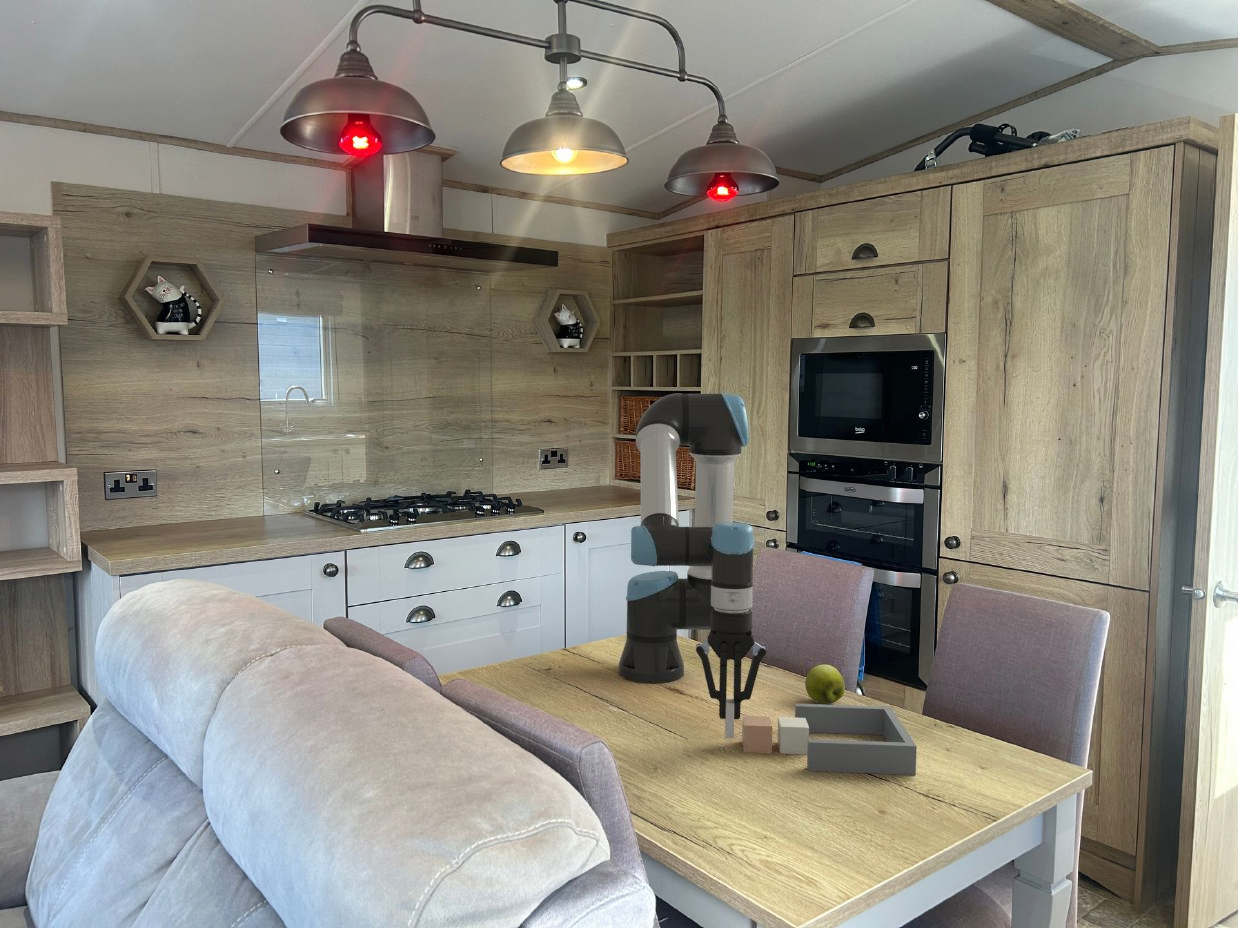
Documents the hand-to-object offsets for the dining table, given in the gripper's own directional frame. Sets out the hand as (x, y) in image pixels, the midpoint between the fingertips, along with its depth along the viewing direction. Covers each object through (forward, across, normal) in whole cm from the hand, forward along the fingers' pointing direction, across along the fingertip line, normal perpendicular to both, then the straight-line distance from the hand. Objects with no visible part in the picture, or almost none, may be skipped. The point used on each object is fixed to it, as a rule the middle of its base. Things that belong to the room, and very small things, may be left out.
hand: (729, 735), depth 166 cm
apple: (+2, +21, +26) cm, 34 cm away
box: (+2, +22, 0) cm, 22 cm away
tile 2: (+2, +12, 0) cm, 12 cm away
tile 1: (+2, +5, 0) cm, 5 cm away
